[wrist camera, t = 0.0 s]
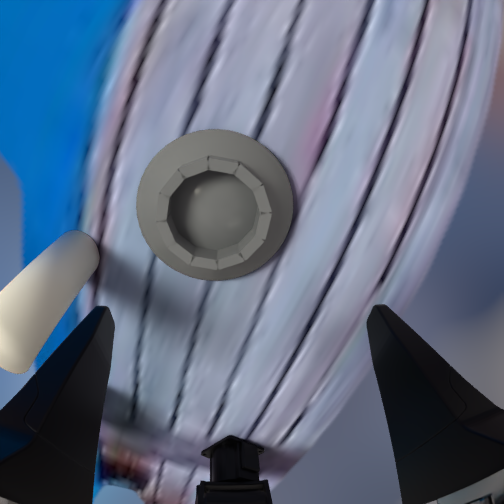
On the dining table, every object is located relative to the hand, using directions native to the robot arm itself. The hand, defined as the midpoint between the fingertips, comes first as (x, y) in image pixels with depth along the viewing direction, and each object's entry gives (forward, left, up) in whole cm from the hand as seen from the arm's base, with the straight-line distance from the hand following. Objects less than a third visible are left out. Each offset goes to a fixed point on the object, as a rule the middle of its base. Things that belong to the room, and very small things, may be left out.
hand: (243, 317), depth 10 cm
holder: (-1, +1, -15) cm, 16 cm away
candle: (-12, +7, -15) cm, 21 cm away
